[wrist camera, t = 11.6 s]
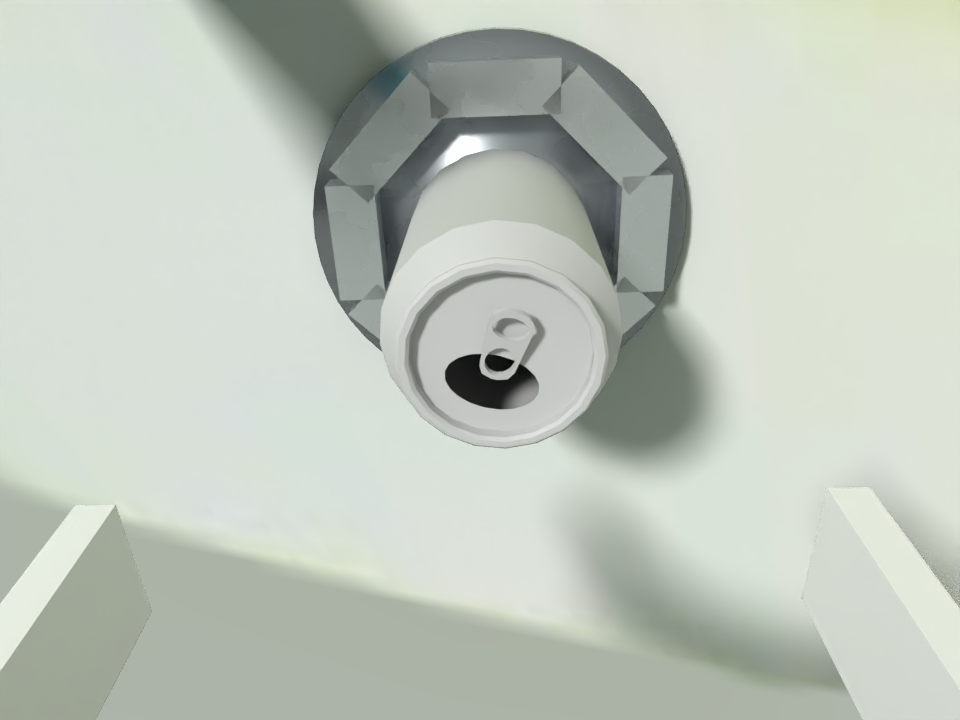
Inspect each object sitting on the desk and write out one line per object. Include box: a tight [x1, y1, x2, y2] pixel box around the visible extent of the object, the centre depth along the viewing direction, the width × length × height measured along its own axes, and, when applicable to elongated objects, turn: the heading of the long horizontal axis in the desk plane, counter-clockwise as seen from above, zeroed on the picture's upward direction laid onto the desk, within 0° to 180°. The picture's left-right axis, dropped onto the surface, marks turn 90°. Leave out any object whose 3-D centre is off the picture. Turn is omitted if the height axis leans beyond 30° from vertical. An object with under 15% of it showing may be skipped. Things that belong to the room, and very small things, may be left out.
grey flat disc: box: [313, 27, 686, 351], centre depth 32 cm, size 16×16×2 cm
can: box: [380, 148, 623, 448], centre depth 26 cm, size 8×8×12 cm
